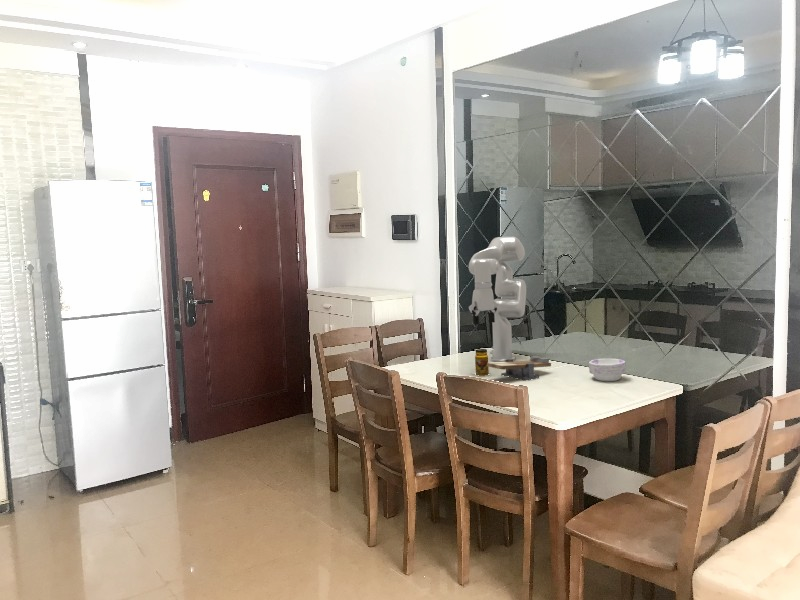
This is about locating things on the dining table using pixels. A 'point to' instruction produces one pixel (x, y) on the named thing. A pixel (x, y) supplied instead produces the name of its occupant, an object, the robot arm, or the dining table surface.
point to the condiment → (481, 362)
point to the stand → (521, 372)
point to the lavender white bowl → (607, 369)
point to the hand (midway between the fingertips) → (484, 323)
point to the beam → (521, 363)
